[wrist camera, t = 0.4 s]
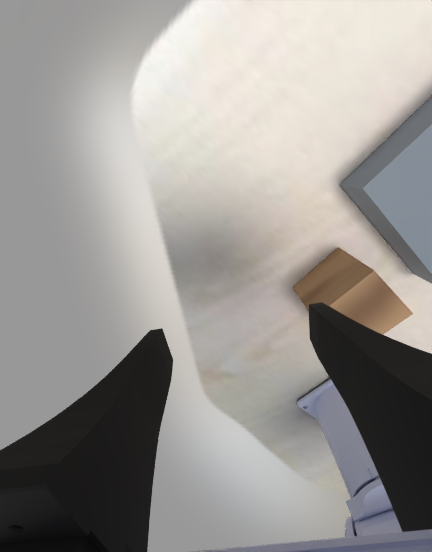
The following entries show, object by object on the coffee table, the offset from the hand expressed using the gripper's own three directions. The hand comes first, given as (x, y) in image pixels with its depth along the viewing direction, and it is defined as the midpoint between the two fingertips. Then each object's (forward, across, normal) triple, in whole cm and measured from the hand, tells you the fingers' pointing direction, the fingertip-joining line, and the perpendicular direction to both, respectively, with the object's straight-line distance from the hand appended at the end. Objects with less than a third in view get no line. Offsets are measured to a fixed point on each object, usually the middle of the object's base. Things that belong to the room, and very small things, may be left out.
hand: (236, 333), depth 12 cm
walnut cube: (+10, -9, +4) cm, 14 cm away
